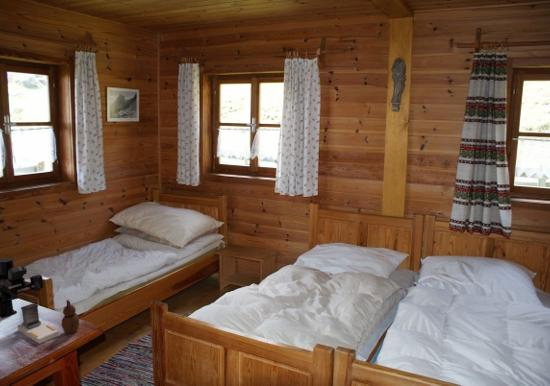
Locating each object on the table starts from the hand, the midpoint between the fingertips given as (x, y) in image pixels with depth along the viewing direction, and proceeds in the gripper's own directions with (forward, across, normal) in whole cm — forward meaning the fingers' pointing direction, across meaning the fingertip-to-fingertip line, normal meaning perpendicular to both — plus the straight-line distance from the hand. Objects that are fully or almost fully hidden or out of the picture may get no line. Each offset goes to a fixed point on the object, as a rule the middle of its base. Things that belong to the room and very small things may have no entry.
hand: (29, 293), depth 192 cm
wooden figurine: (+14, +9, +16) cm, 24 cm away
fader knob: (-1, 0, +14) cm, 14 cm away
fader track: (+4, 0, +16) cm, 17 cm away
